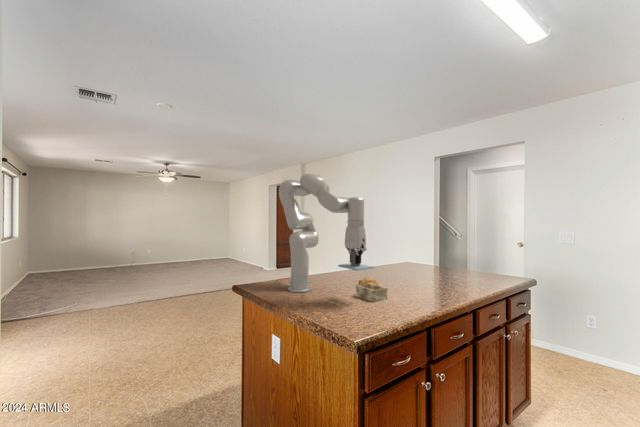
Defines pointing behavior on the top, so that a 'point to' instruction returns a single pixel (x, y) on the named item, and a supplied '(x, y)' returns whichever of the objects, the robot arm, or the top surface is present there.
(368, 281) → the croissant
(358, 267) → the lid
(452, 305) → the top surface
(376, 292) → the box
